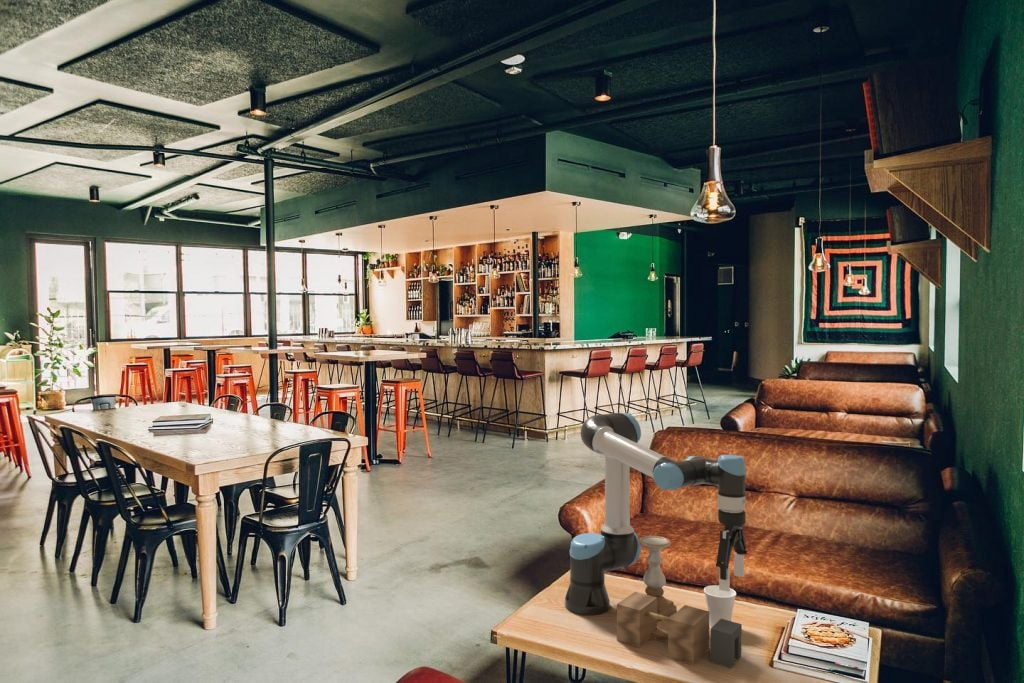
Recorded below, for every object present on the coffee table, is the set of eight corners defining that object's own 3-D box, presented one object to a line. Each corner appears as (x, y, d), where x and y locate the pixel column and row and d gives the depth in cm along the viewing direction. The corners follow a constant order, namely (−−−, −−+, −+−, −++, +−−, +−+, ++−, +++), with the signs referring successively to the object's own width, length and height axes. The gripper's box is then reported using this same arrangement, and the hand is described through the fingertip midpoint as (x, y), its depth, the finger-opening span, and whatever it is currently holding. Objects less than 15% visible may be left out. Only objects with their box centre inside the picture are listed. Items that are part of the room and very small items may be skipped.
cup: (738, 634, 198) (738, 598, 198) (704, 631, 200) (705, 596, 200) (734, 620, 208) (734, 586, 208) (702, 617, 210) (702, 584, 210)
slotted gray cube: (710, 661, 181) (710, 628, 181) (720, 650, 188) (720, 618, 188) (731, 668, 178) (731, 634, 178) (741, 656, 184) (741, 624, 184)
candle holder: (677, 611, 215) (677, 540, 215) (660, 621, 207) (660, 547, 207) (648, 602, 222) (649, 533, 222) (631, 611, 214) (631, 540, 214)
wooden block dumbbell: (616, 640, 194) (617, 603, 194) (635, 626, 204) (635, 591, 203) (693, 665, 179) (693, 625, 179) (709, 648, 189) (709, 611, 189)
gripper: (731, 521, 174) (731, 599, 174) (757, 502, 194) (757, 573, 194) (704, 517, 178) (704, 593, 178) (732, 499, 198) (732, 568, 198)
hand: (731, 583), depth 186 cm, fingers open, 13 cm apart
